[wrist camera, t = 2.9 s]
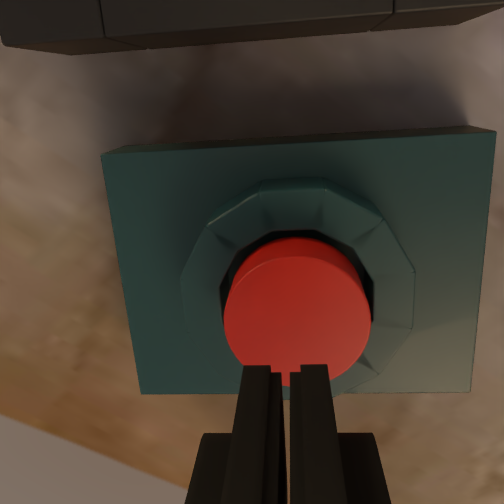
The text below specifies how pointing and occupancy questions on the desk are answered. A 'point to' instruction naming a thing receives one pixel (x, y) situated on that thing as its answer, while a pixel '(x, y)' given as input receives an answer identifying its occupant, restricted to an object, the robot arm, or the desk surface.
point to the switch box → (312, 226)
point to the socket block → (211, 21)
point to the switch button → (297, 308)
